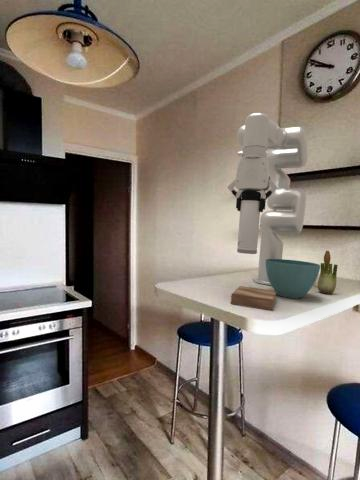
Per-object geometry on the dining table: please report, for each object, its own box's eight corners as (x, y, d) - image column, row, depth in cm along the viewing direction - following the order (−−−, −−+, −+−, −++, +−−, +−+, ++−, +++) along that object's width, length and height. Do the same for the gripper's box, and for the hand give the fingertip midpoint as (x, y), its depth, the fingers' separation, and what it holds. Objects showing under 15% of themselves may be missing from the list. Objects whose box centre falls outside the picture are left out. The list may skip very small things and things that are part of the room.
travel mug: (234, 252, 92) (238, 189, 91) (240, 251, 98) (244, 192, 97) (253, 254, 89) (258, 189, 88) (258, 253, 95) (263, 192, 94)
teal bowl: (268, 287, 116) (270, 257, 115) (318, 295, 107) (321, 262, 107) (258, 295, 100) (261, 260, 99) (316, 305, 91) (319, 267, 91)
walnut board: (239, 294, 99) (240, 285, 99) (275, 300, 95) (276, 290, 95) (230, 303, 86) (231, 293, 86) (272, 310, 82) (273, 299, 82)
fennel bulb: (336, 294, 111) (339, 263, 111) (330, 295, 108) (333, 264, 107) (320, 291, 115) (323, 261, 115) (315, 292, 112) (318, 262, 112)
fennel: (323, 289, 120) (326, 251, 120) (310, 284, 128) (313, 249, 128) (340, 289, 122) (343, 252, 121) (326, 285, 130) (329, 250, 129)
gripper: (225, 153, 92) (220, 209, 93) (282, 150, 85) (277, 211, 86) (230, 158, 99) (226, 211, 99) (284, 157, 92) (279, 213, 93)
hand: (250, 210), depth 93 cm, fingers closed on travel mug, 6 cm apart
